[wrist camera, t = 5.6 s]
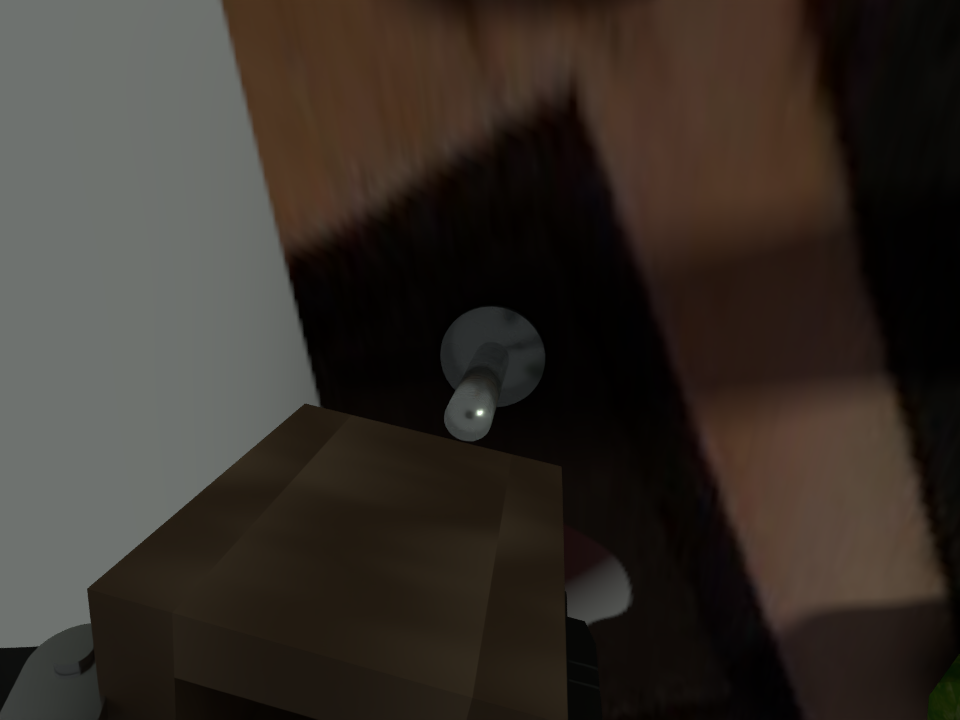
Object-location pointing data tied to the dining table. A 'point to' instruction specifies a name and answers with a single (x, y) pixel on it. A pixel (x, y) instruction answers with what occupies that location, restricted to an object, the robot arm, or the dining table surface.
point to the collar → (345, 586)
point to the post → (488, 366)
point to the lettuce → (946, 695)
